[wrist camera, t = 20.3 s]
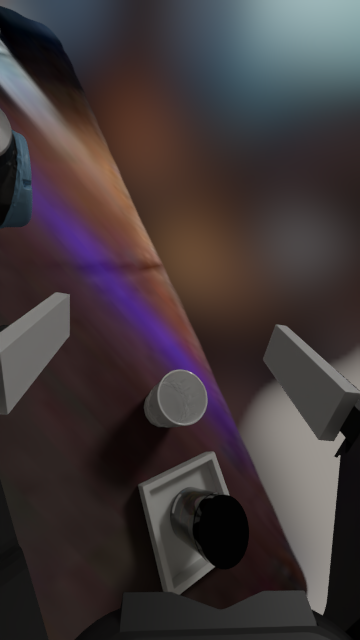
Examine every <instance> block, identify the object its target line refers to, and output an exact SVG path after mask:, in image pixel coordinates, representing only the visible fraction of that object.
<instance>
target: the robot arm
mask: <svg viewBox="0 0 360 640" xmlns="http://www.w3.org/2000/svg"><path fill="white" fill-rule="evenodd" d="M31 214H32V187H31V166H30V157H29V151H28V146H27V142H26V140H25V138H24V137H23V136H22V135H21V134H19V133H16V132H15V131H13V130H11V126H10V123H9V121H8V119H7V117H6V115H5V114H4V113H3V111H2V110H1V109H0V229H1V228H4V227H23V226H25V225H27V224H28V223H29V221H30V219H31ZM69 329H70V294H64V293H57V292H56V293H54V294H53V295H52V296H50V297H49V298H47V299H46V300H45V301H43V302H42V303H40V304H39V305H38V306H36V307H35V308H34V309H32V310H31V311H29V312H28V313H27V314H25V315H24V316H22V317H21V318H20V319H18V320H17V321H15V322H14V323H13V324H11V325H10V326H8V325H2V326H0V414H6V415H8V414H9V412H10V411H11V410H12V409H13V407H14V406H15V405H16V403H17V402H18V401H19V400H20V398H21V397H22V396H23V394H24V393H25V392H26V391H27V389H28V388H29V387H30V385H31V384H32V383H33V382H34V380H35V379H36V378H37V376H38V375H39V374H40V373H41V371H42V370H43V369H44V367H45V366H46V365H47V364H48V362H49V361H50V360H51V358H52V357H53V356H54V355H55V353H56V352H57V351H58V350H59V348H60V347H61V346H62V344H63V343H64V342H65V341H66V339H67V338H68V337H69ZM263 360H264V362H265V363H266V365H267V366H268V368H269V369H270V370H271V372H272V373H273V375H274V376H275V378H276V379H277V381H278V382H279V383H280V385H281V386H282V388H283V389H284V391H285V392H286V394H287V395H288V396H289V398H290V399H291V401H292V402H293V404H294V405H295V406H296V408H297V409H298V411H299V412H300V414H301V415H302V417H303V418H304V419H305V421H306V422H307V424H308V425H309V427H310V428H311V429H312V431H313V432H314V434H315V435H316V437H317V438H318V439H319V440H327V441H334V440H335V438H336V437H337V434H338V433H339V431H341V433H342V434H343V435H344V436H345V437H346V438H345V440H344V441H343V443H342V445H341V446H340V448H339V449H338V451H337V453H336V454H335V457H338V456H339V455H341V457H340V468H339V478H338V489H337V500H336V511H335V523H334V533H333V544H332V554H331V565H330V575H329V586H328V597H327V604H326V608H325V611H324V614H323V615H321V614H319V613H317V612H315V611H313V610H311V607H310V605H309V602H308V599H307V597H306V594H305V591H262V592H260V593H258V594H256V595H254V596H252V597H250V598H247V599H245V600H243V601H241V602H239V603H237V604H235V605H233V606H230V607H228V608H226V609H223V610H219V609H215V608H213V607H210V606H207V605H205V604H202V603H199V602H197V601H194V600H192V599H189V598H186V597H184V596H181V595H178V594H176V593H173V592H124V593H123V598H122V603H121V608H120V609H118V610H116V611H113V612H111V613H108V614H107V615H105V616H103V617H102V618H100V619H99V620H97V621H95V622H94V623H93V624H92V625H90V626H89V627H88V628H87V629H85V630H84V631H83V632H82V633H81V634H80V635H79V636H78V637H77V638H76V639H75V640H360V391H359V390H358V389H357V388H356V387H355V386H354V385H353V384H351V383H350V382H349V381H348V380H347V379H345V377H344V376H342V375H341V374H340V373H339V372H338V371H337V370H335V369H334V368H333V367H332V366H330V365H329V364H328V363H327V362H326V361H325V360H324V359H323V358H322V357H320V356H319V355H318V354H317V353H316V352H315V351H314V350H312V349H311V348H310V347H309V346H308V345H307V344H306V343H305V342H304V341H303V340H301V339H300V338H299V337H298V336H297V335H296V334H295V333H294V332H292V331H291V330H290V329H289V328H288V327H287V326H282V325H275V328H274V331H273V334H272V336H271V339H270V342H269V344H268V347H267V350H266V353H265V355H264V358H263ZM0 640H48V636H47V633H46V629H45V626H44V622H43V619H42V615H41V612H40V608H39V605H38V602H37V598H36V595H35V591H34V588H33V584H32V581H31V577H30V574H29V570H28V567H27V564H26V560H25V557H24V554H23V551H22V549H21V547H20V546H19V544H18V541H17V537H16V534H15V530H14V527H13V523H12V520H11V516H10V513H9V509H8V505H7V502H6V498H5V495H4V491H3V488H2V484H1V481H0Z"/></svg>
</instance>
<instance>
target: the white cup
mask: <svg viewBox="0 0 360 640" xmlns="http://www.w3.org/2000/svg"><path fill="white" fill-rule="evenodd" d="M206 407H207V393H206V389H205V387H204V385H203V383H202V382H201V380H200V379H199V378H198V377H197V376H196V375H195V374H193V373H191V372H189V371H186V370H174V371H172V372H170V373H168V374H167V375H165V376H164V377H163V379H162V380H161V381H160V382H159V383H158V384H157V385H156V386H155V387H154V388H153V389H152V390H151V392H150V393H149V395H148V396H147V397H146V399H145V403H144V411H145V416H146V417H147V419H148V420H149V421H150V423H151V424H153V425H155V426H157V427H179V426H186V425H191V424H193V423H195V422H197V421H198V420H199V419H200V418H201V417H202V416H203V414H204V412H205V410H206Z"/></svg>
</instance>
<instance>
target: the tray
mask: <svg viewBox="0 0 360 640" xmlns="http://www.w3.org/2000/svg"><path fill="white" fill-rule="evenodd" d="M187 487H195V488H199V489H204V490H208V491H212V492H216V493H222V494H225V495H229V493H228V490H227V487H226V484H225V481H224V478H223V476H222V473H221V470H220V467H219V464H218V461H217V458H216V456H215V453H214V452H205V453H202V454H200V455H198V456H196V457H194V458H192V459H190V460H188V461H186V462H184V463H182V464H180V465H178V466H176V467H174V468H172V469H169V470H167V471H165V472H163V473H161V474H159V475H157V476H155V477H153V478H151V479H149V480H147V481H145V482H143V483H141V484H139V485H138V488H139V492H140V496H141V500H142V505H143V509H144V513H145V517H146V521H147V526H148V530H149V534H150V538H151V543H152V547H153V551H154V555H155V559H156V564H157V568H158V572H159V576H160V580H161V585H162V589H163V591H164V592H173V593H176V594H178V595H180V594H181V593H182V592H183V591H185V590H186V589H187V588H188V587H190V586H191V585H192V584H194V583H195V582H196V581H197V580H199V579H200V578H201V577H203V576H204V575H205V574H206V573H208V572H209V571H210V570H212V569H213V568H214V567H215V566H213V565H212V564H211V563H209V562H208V561H206V560H205V559H204V558H203V557H202V556H201V555H199V554H198V553H197V552H195V551H194V550H193V549H192V548H190V547H189V546H188V545H186V544H185V543H184V542H182V541H181V540H180V539H179V538H178V537H177V536H176V535H175V533H174V531H173V529H172V526H171V521H170V511H171V506H172V503H173V500H174V498H175V497H176V495H177V494H178V493H179V492H180V491H181V490H183V489H184V488H187Z"/></svg>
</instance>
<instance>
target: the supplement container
mask: <svg viewBox="0 0 360 640" xmlns="http://www.w3.org/2000/svg"><path fill="white" fill-rule="evenodd" d="M170 521H171V526H172V529H173V531H174V533H175V535H176V536H177V537H178V538H179V539H180V540H181V541H182V542H184V543H185V544H186V545H188V546H189V547H190V548H192V549H193V550H194V551H195V552H197V553H198V554H199V555H201V556H202V557H203V558H204V559H205V560H206V561H208V562H209V563H211V564H212V565H213V566H215V567H217V568H219V569H230V568H232V567H234V566H235V565H237V564H238V563H239V562H240V560H241V559H242V558H243V556H244V554H245V551H246V549H247V545H248V539H249V527H248V521H247V517H246V514H245V512H244V510H243V508H242V506H241V505H240V503H239V502H238V501H237V500H236V499H234V498H233V497H231V496H229V495H225V494H222V493H216V492H212V491H208V490H204V489H199V488H195V487H187V488H184V489H183V490H181V491H180V492H179V493H178V494H177V495H176V497H175V498H174V500H173V503H172V506H171V511H170Z"/></svg>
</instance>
